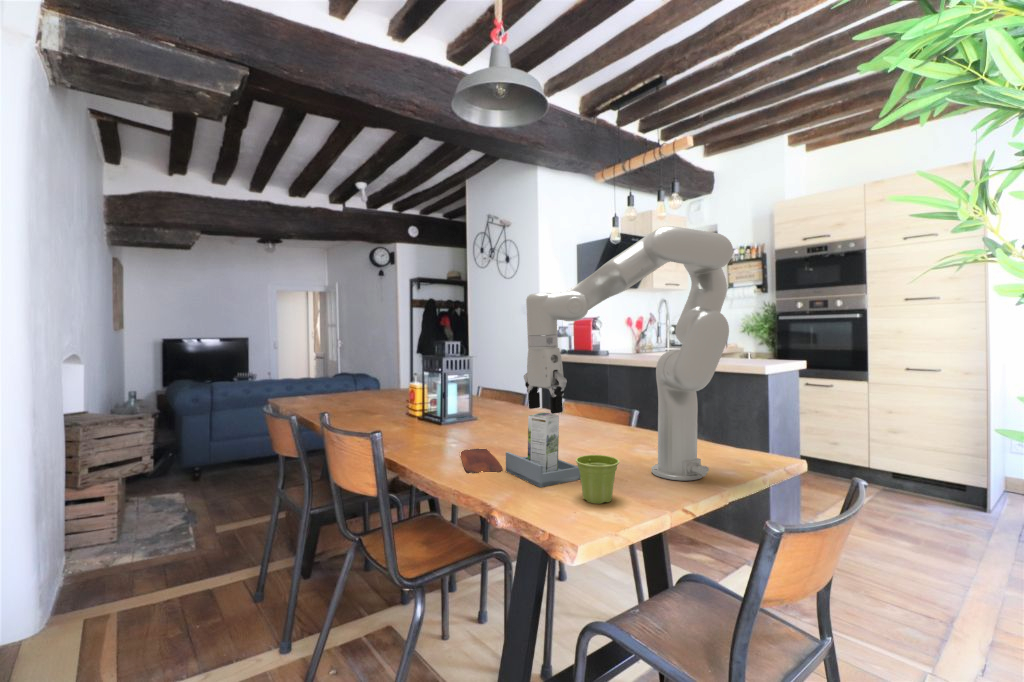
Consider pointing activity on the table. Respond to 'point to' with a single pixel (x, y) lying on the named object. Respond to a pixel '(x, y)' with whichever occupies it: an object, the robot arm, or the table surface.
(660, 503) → the table surface
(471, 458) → the wooden tablet
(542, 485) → the tray
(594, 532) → the table surface
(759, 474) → the table surface
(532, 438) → the syrup box
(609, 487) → the plant pot
